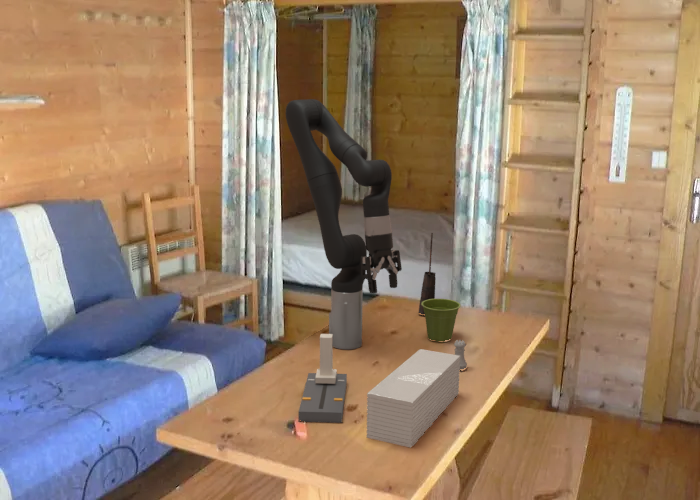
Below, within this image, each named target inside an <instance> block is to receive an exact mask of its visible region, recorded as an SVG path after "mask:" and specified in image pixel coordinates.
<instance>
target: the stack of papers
mask: <svg viewBox="0 0 700 500" xmlns="http://www.w3.org/2000/svg"><path fill="white" fill-rule="evenodd" d="M459 363H460V356H458V355H455V354H452V353H446V352H441V351H433V350H429V349H428V350H427V349H423V348H422V349H421V348H420V349H418V350H417V351H415V352H414V353H413V354H412V355H411V356H410V357H408V359H406V360H405V361H404V362H403V363H401V364H400V365H399V366H398V367H397V368H395V369H394V370H393V371H392V372H391V373H389V374H388V375H387V376H386V377H385V378H384V379H382V380H381V381H380V382H379V383H377V385H375V386H374V387H373V388H372V389H370V390H369V391H368V392H367V394H366V397H367V398H366V405H367V406H366V438H367V439H371V440H375V441H379V442H380V441H381V442H384V443H388V444H394V445H397V446H402V447H406V448H410V449H411V447H412V446H413V447H414V445H415V444H416V443H417V442H419V440H420V439H421V438H422V437H421V436H424V434H425V433H426V432H427V431H428V430H429V429H430V428H431V427H432V426H433V424H434V423H435V422H436V421H437V420H438V419H439V418H438V416H439V415H440V414H441V413H442V412H443V411H444V410H445V409H446V407H447V406H448V405H449V404H450V403H451V402H452V401H453V400H454V398H455V397H456V396H457V395H458V394H459V392H460V389H459V388H460V371H459V370H460V364H459ZM458 396H459V395H458ZM458 396H457V397H458ZM457 397H456V398H457ZM454 401H455V400H454ZM454 401H453V402H454ZM453 402H452V403H453ZM452 403H451V404H452ZM451 404H450V405H451ZM450 405H449V406H450ZM449 406H448V407H449ZM448 407H447V408H448ZM446 410H447V409H446ZM446 410H445V411H446ZM445 411H444V412H445ZM444 412H443V413H444ZM443 413H442V414H443ZM442 414H441V415H442ZM441 415H440V416H441ZM440 416H439V417H440ZM437 418H438V419H437ZM436 419H437V420H436ZM435 420H436V421H435ZM434 421H435V422H434ZM433 422H434V423H433ZM432 423H433V424H432ZM429 427H430V428H429ZM428 428H429V429H428ZM427 429H428V430H427ZM426 430H427V431H426ZM425 431H426V432H425ZM424 432H425V433H424ZM420 437H421V438H420ZM419 438H420V439H419ZM418 439H419V440H418ZM413 447H412V448H413Z"/></svg>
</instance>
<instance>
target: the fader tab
mask: <svg viewBox="0 0 700 500" xmlns="http://www.w3.org/2000/svg"><path fill="white" fill-rule="evenodd" d="M333 348H334V347H333V334H329V333H320V336H319V368H317V369H316V372H315V373H316V377H315V383H328V384H335V382H336V376H337V374H338V371H337V370H338V369H336V368H334V369H333V365H334V364H333V358H334V357H333V356H334V355H333Z"/></svg>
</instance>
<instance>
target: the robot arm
mask: <svg viewBox="0 0 700 500" xmlns="http://www.w3.org/2000/svg"><path fill="white" fill-rule="evenodd" d="M285 118H286V119H285V120H286V124H287V127H288V129H289V132H290V135H291V137H292V139H293V142H294V145H295V147H296V149H297V152H298V155H299V157H300V161H301V164H302V168H303V171H304V174H305V178H306V182H307V186H308V188H309V192H310V196H311V198H312V200H313V204H314V208H315V212H316V216H317V220H318V223H319V227H320V228H319V229H320V233H321V240H322V245H323V248H324V249H323V250H324V254H325V257H326V259H327V261H328V263H329V265H330V266H331V267H332V268H334V269H336V270H340V271H339V273H338V274H337V275H335V276H334V277H333V278H332V279H331V281H330V282H331V284H330V285H331V286H330V288H331V289H330V290H331V292H330V293H331V301H330V302H331V303H330V304H331V305H330V307H331V309H330V311H329V313H328V334H333V348H336V349H340V350H354V349H358V348H361V347H362V346H363V293H364V292H363V289H364V288H363V287H364V282H365V280H367V284H368V285H367V286H368V291H369V294H377V293H378V287H377V279H376V278H377V276H378V274H379V273H380V270H383V269H385V270H386V271H387V273H388V283H389V288H390V289H396V288H397V287H398V275H397V274H398V273H399V272H401V271H402V262H401V256H400V255H401V254H400V250H397V249H396V250H394V249H393V248H394V241H393V231H392V220H391V218H390V217H391V216H390V209H389V207H390V206H389V197H390V191H391V184H392V176H393V175H392V169H391V167H390V164H389V163H388V162H387V161H385V160H384V159H372V160H367V159H368V154H367V151H366V149H365V148H364V147H363V146H362V145H361V144H360V143H358V141H356V140H355V139H353V137H351V136H350V135H349V134H348V133H347V132H346V131H345V130H344V129H343V127H342V126H341V125H340V124H339V122H338V121H337V120H336V119H335V117H334V116H333V114H331V112H330V111H329V110H328V108H327V107H326V106H325V105H324V104H323V103H322V102H321V101H320V100H318V99H313V98H312V99H310V98H309V99H293V100H290V101H289V102H288V103H287V105H286V107H285ZM313 131H317V132H319V133H321V134H322V135H324V136H325V137H326V138H327V142H328V146H329V149H330V152H331V153H332V154H333V156H334V157H335V158H336V159H337V160H339V161H340V163H342V164H343V165H344V166H345V167H346V168H347V170H348V172H349V173H350V175H351V177H352V179H353V180H354V182H356V184H358V185H360V186H362V187H366V188H367V187H371V193H369V194H367V195H366V196H364V197H363V200H362V209H363V210H362V211H363V217H364V219H363V221H364V222H363V229H364V238H365V239H363V238H362V236H361V235H358V234H356V233H355V234H354V233H351V234H347V235H343V233H342V229H341V226H340V220H339V214H340V213H339V212H340V206H341V202H342V198H343V196H342V195H343V187H342V184H341V180H340V177H339V174H338V170H337V168H336V166H335V165H334V163H333V162H332V160H330V159H329V157H328V156H327V155H326V153H324V151H322V149H320V147H319V146H318V145H317V143H316V141H315V139H314V137H313V133H312V132H313ZM367 252H368V253H367Z"/></svg>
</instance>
